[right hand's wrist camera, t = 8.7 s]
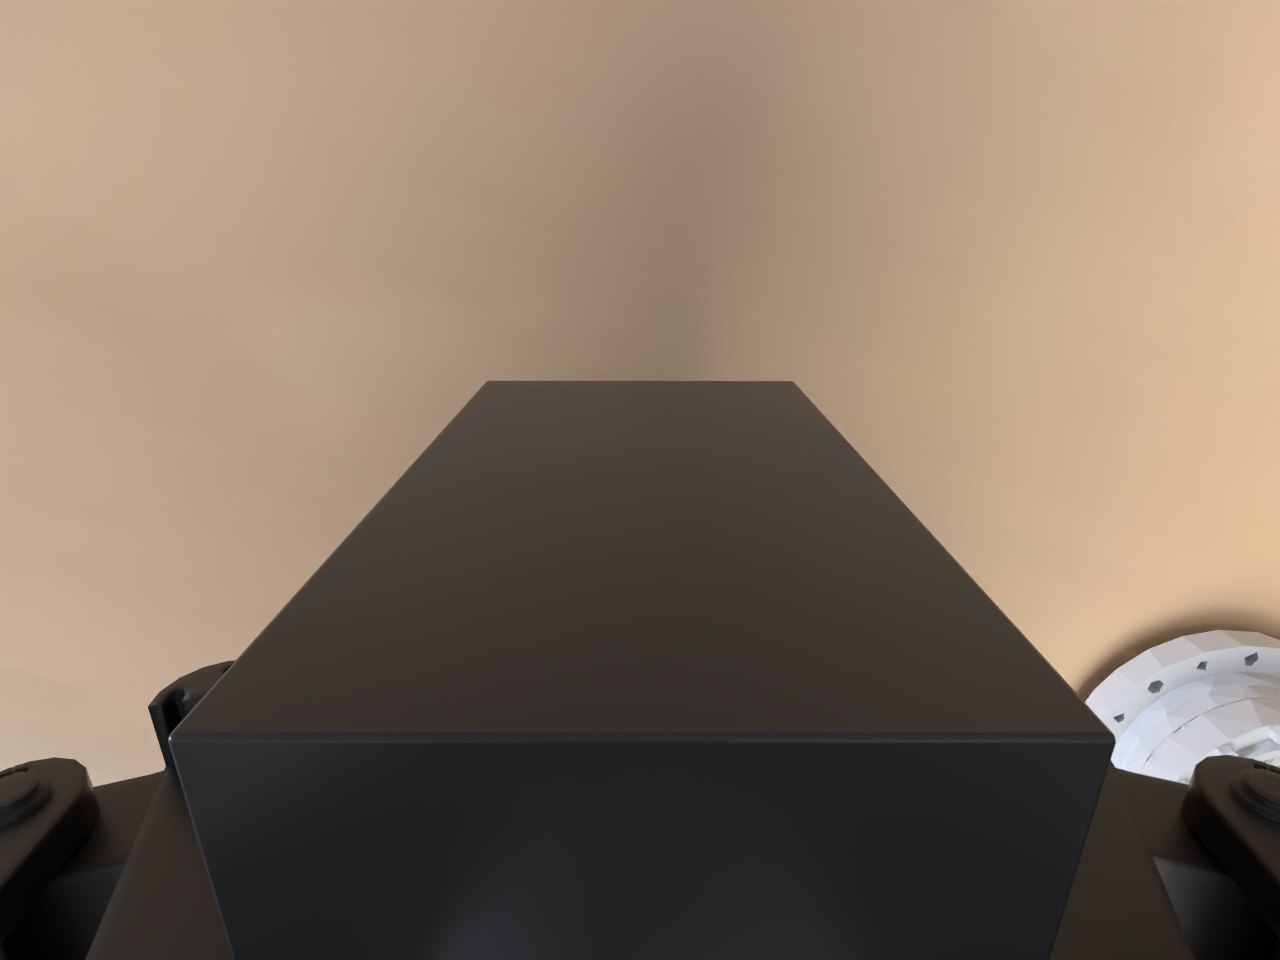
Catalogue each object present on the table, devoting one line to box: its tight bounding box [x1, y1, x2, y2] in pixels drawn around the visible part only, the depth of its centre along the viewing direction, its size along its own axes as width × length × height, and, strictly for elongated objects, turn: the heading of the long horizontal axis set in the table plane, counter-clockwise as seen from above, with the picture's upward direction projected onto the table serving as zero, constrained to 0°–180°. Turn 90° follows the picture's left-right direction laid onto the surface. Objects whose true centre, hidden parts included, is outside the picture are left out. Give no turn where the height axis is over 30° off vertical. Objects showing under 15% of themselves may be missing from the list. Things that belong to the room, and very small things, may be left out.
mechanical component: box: [1085, 630, 1280, 785], centre depth 26 cm, size 10×4×10 cm
